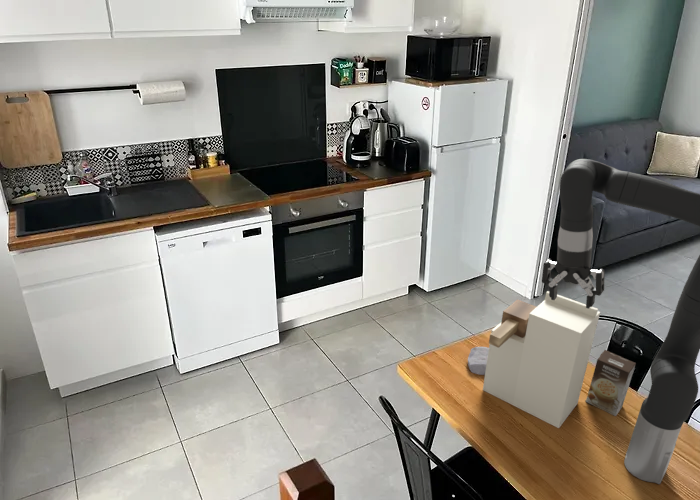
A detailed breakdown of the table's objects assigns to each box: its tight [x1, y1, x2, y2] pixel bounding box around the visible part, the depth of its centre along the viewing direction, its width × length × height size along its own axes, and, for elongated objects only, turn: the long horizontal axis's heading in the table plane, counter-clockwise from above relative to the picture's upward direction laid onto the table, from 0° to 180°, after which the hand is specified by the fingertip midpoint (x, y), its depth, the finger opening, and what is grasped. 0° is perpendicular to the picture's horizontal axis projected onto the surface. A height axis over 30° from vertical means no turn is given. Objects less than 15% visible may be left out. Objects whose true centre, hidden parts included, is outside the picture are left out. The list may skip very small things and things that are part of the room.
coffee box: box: [585, 349, 637, 417], centre depth 157 cm, size 9×6×16 cm
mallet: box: [488, 298, 537, 348], centre depth 153 cm, size 7×20×6 cm, turn 138°
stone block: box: [467, 346, 489, 376], centre depth 177 cm, size 12×5×10 cm
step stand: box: [482, 290, 601, 429], centre depth 156 cm, size 24×14×34 cm, turn 48°
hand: (570, 302), depth 135 cm, fingers open, 8 cm apart
